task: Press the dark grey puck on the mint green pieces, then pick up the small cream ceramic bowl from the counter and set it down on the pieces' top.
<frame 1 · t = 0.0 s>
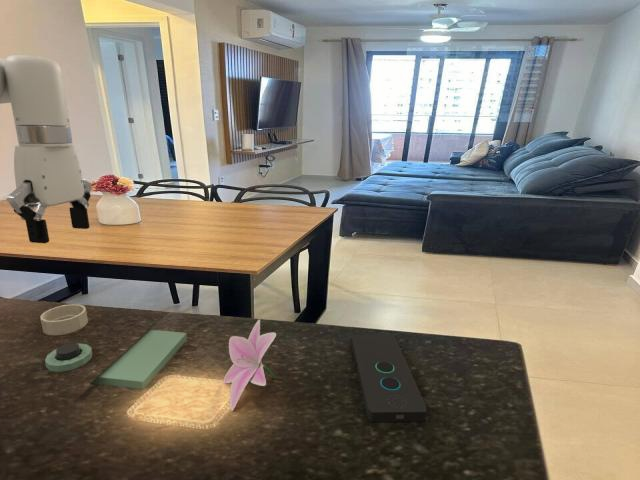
hand: (61, 234, 69), 18 cm above the kitchen counter, tool pointing down, fingers open, 9 cm apart
lily: (249, 388, 57), on the kitchen counter
dark grey puck: (68, 352, 59), point 3 cm above the kitchen counter, slide at 0.1 cm
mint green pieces: (122, 357, 63), on the kitchen counter
smart home device: (382, 376, 61), on the kitchen counter
bowl: (67, 334, 70), on the kitchen counter
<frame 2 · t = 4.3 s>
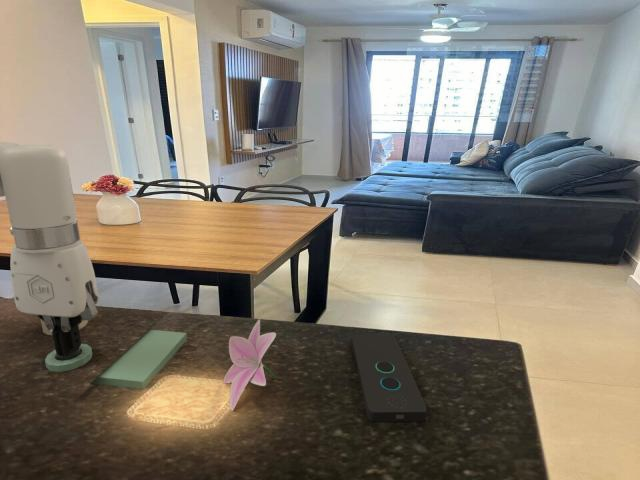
hand: (69, 350, 58), 4 cm above the kitchen counter, tool pointing down, fingers closed
dark grey puck: (68, 354, 59), point 3 cm above the kitchen counter, slide at -0.2 cm, touching gripper
everything else where it was.
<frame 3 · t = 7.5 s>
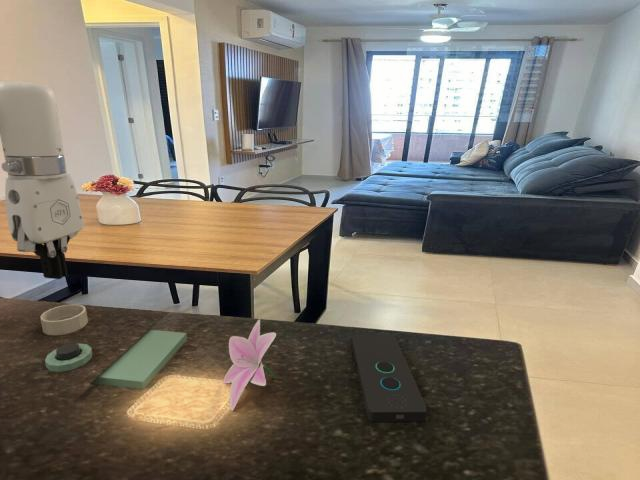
hand: (56, 276, 65), 12 cm above the kitchen counter, tool pointing down, fingers closed
dark grey puck: (68, 352, 59), point 3 cm above the kitchen counter, slide at 0.1 cm
everything else where it was.
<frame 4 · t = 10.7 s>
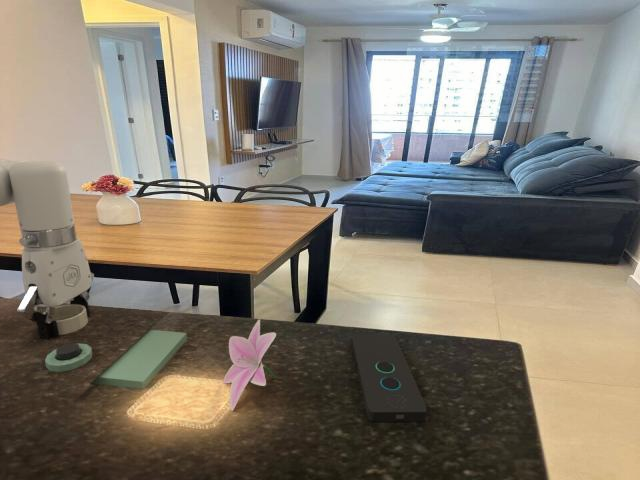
hand: (66, 329, 69), 1 cm above the kitchen counter, tool pointing down, fingers closed on bowl, 6 cm apart
bowl: (67, 334, 70), on the kitchen counter, touching gripper
everything else where it was.
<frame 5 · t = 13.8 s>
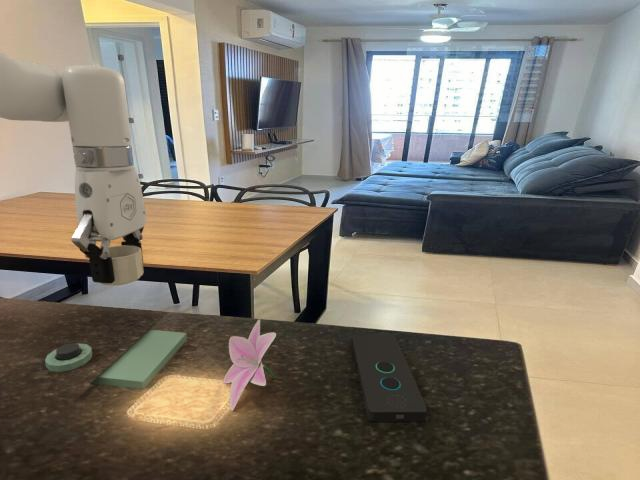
hand: (119, 272, 60), 15 cm above the kitchen counter, tool pointing down, fingers closed on bowl, 6 cm apart
bowl: (120, 278, 61), point 14 cm above the kitchen counter, touching gripper
everything else where it was.
when the fingers open (2 cm above the kitchen counter, at t = 17.1 s): bowl stays where it is, resting on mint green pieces.
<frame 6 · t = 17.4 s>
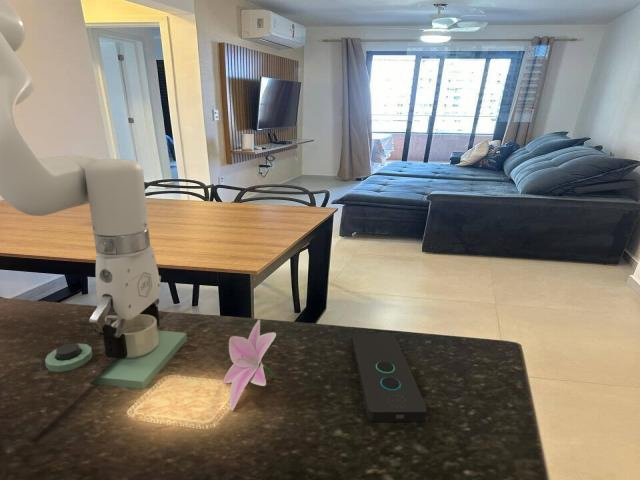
hand: (135, 340, 63), 3 cm above the kitchen counter, tool pointing down, fingers open, 9 cm apart
bowl: (136, 347, 64), point 1 cm above the kitchen counter, touching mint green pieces
everything else where it was.
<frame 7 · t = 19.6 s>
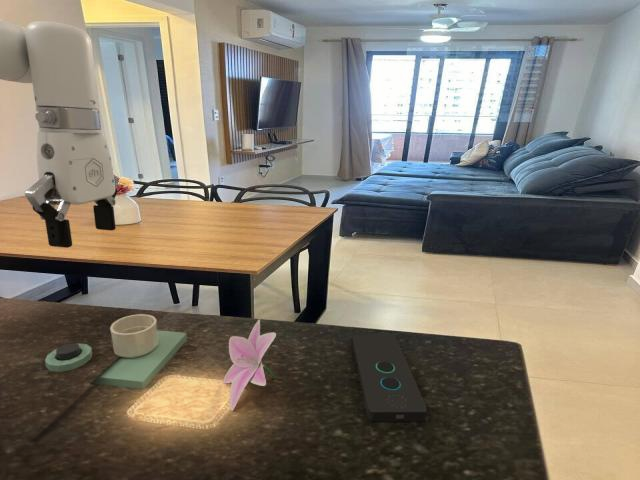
hand: (85, 237, 59), 20 cm above the kitchen counter, tool pointing down, fingers open, 9 cm apart
nothing on the kitchen counter moved.
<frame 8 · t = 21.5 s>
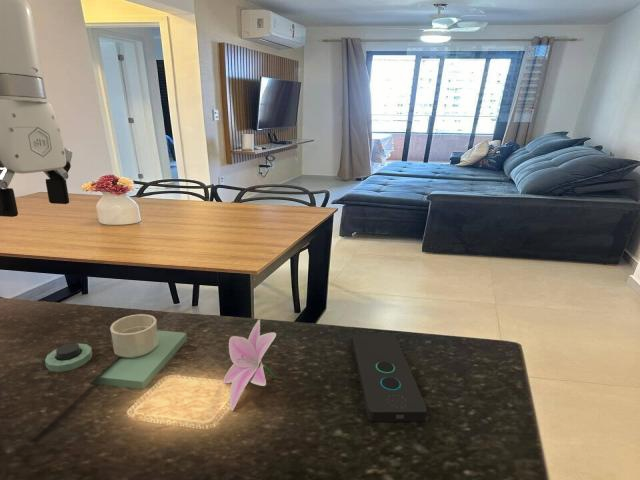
hand: (35, 209, 59), 24 cm above the kitchen counter, tool pointing down, fingers open, 9 cm apart
nothing on the kitchen counter moved.
at the end: dark grey puck pushed in 0.9 cm at the most during the clip, back to where it started at the end; bowl inside the target area on the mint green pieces (2.3 cm from its centre), point 1.4 cm above the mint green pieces's base; bowl touching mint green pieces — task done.
